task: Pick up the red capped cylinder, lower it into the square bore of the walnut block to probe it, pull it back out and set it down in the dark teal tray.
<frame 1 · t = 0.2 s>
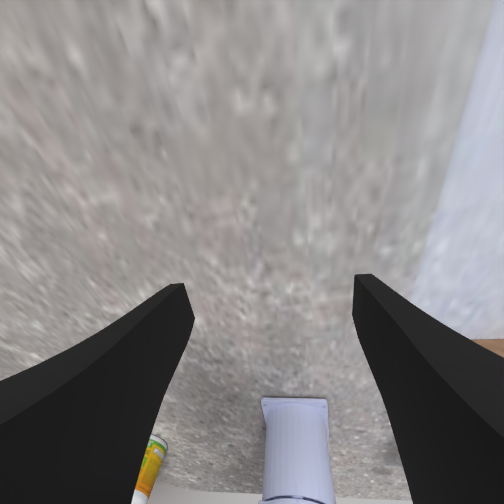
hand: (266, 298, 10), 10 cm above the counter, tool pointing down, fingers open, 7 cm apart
supplement bottle: (152, 440, 40), on the counter
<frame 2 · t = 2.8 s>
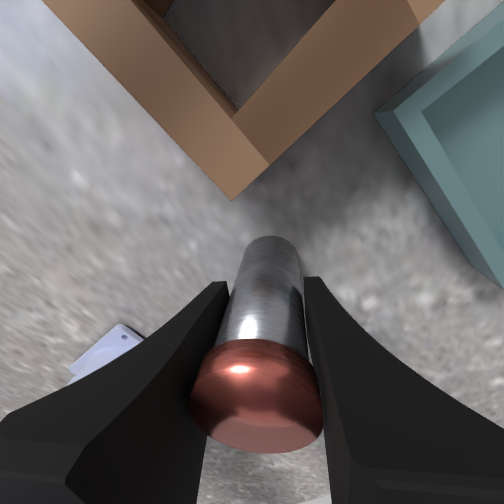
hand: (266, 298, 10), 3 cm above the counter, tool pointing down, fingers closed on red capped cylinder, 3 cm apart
bore block: (250, 17, 9), on the counter
red capped cylinder: (270, 261, 13), on the counter, touching gripper
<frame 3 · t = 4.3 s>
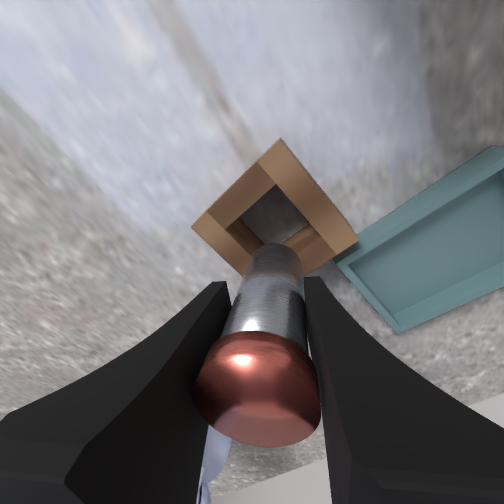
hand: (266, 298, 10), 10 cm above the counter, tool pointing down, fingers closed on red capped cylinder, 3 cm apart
bore block: (274, 215, 19), on the counter
red capped cylinder: (275, 268, 14), point 7 cm above the counter, touching gripper
tray: (430, 248, 19), on the counter
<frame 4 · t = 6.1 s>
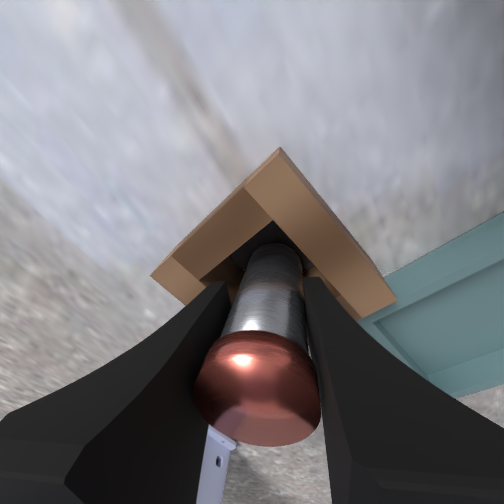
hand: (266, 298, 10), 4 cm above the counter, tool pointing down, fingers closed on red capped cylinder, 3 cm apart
bore block: (271, 251, 14), on the counter
red capped cylinder: (275, 267, 14), point 1 cm above the counter, touching gripper
tray: (484, 296, 14), on the counter
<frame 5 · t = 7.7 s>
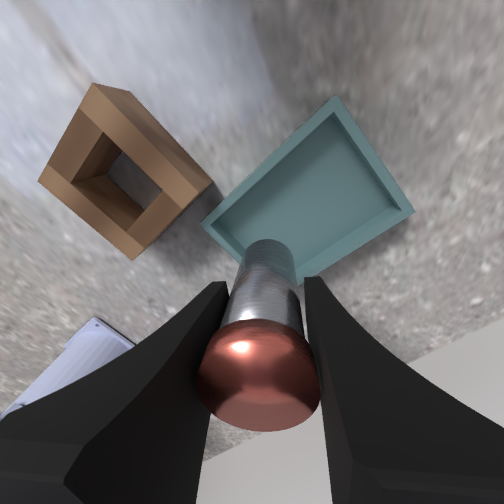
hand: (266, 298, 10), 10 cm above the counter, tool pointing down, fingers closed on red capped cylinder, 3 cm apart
bore block: (143, 176, 19), on the counter
red capped cylinder: (267, 263, 14), point 6 cm above the counter, touching gripper
tray: (298, 209, 19), on the counter
when the fingers open (5 cm above the counter, at t = 9.1 s): red capped cylinder stays where it is, resting on tray.
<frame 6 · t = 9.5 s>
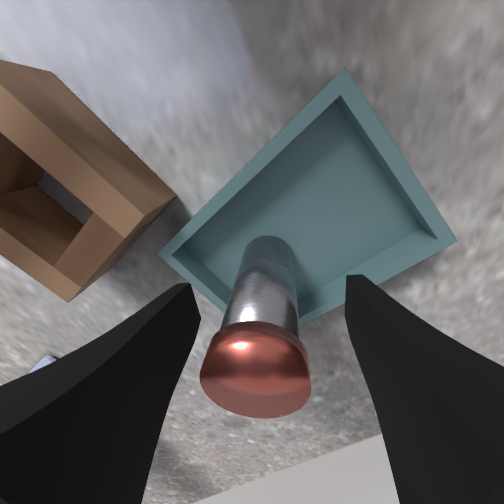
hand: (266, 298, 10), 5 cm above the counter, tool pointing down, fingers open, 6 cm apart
bore block: (85, 189, 14), on the counter
red capped cylinder: (268, 258, 14), point 1 cm above the counter, touching tray
tray: (291, 232, 14), on the counter
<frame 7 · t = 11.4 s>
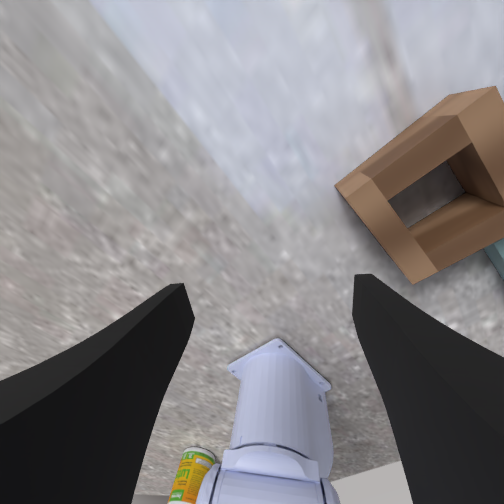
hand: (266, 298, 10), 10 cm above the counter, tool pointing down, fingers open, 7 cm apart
supplement bottle: (200, 453, 40), on the counter
bore block: (416, 189, 17), on the counter
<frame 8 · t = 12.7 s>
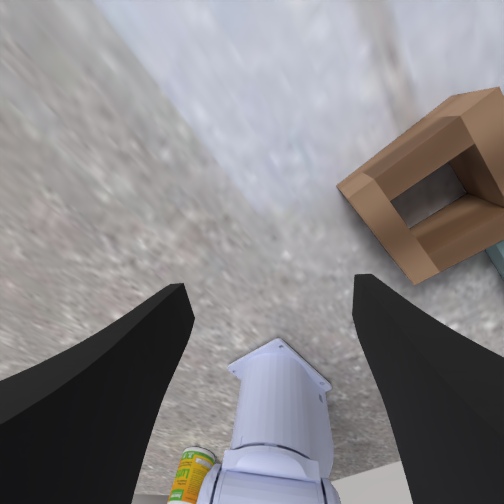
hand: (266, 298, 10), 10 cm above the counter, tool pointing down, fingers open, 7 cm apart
supplement bottle: (200, 452, 40), on the counter
bore block: (418, 190, 17), on the counter
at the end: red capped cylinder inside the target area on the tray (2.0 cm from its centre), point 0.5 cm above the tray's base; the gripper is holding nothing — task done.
